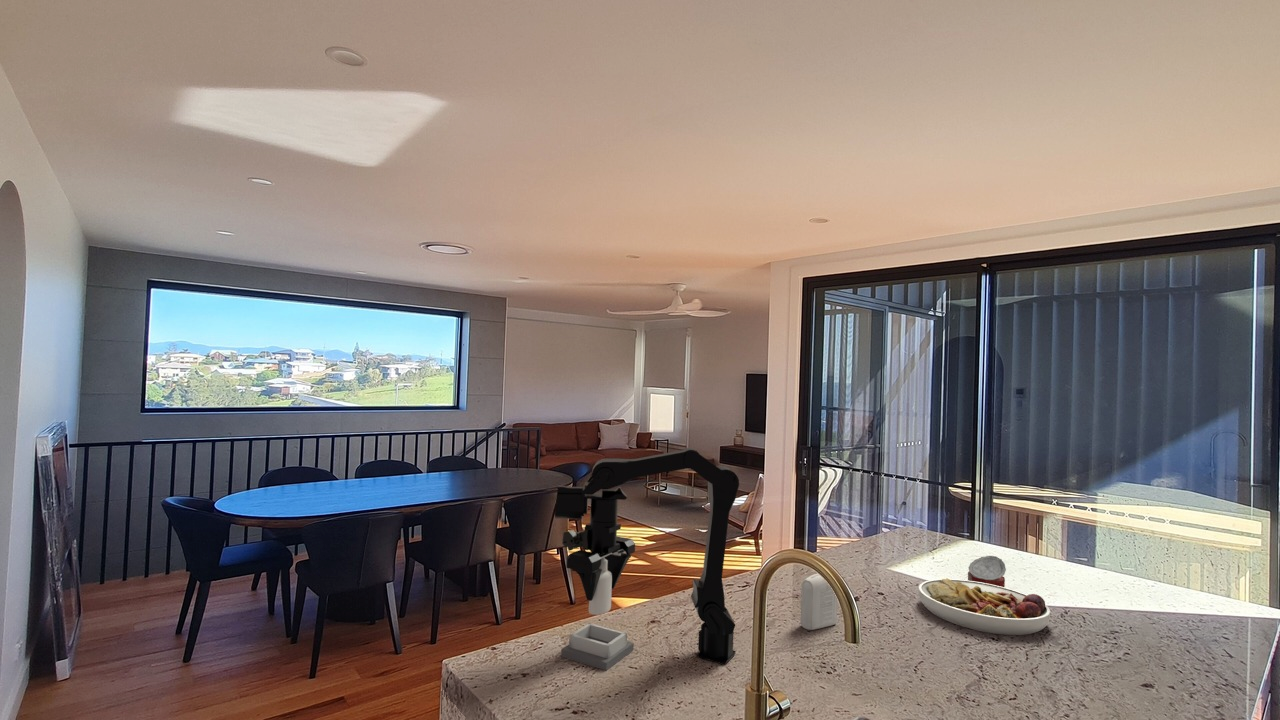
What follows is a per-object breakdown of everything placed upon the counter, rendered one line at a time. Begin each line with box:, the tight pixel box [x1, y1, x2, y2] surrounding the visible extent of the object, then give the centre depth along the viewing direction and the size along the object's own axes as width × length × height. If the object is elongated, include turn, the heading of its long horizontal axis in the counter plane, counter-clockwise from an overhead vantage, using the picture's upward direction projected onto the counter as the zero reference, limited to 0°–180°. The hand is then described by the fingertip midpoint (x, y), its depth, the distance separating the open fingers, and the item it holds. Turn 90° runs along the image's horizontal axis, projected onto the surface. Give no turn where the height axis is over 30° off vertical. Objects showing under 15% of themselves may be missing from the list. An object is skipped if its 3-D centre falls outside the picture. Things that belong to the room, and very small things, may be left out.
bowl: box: [918, 578, 1051, 636], centre depth 159 cm, size 30×30×8 cm
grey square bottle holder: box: [560, 622, 635, 671], centre depth 127 cm, size 11×11×4 cm
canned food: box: [967, 555, 1007, 588], centre depth 185 cm, size 11×10×10 cm
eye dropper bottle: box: [588, 558, 613, 616], centre depth 127 cm, size 4×6×12 cm
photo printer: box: [800, 573, 839, 631], centre depth 148 cm, size 10×4×12 cm, turn 123°
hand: (600, 594), depth 127 cm, fingers closed on eye dropper bottle, 8 cm apart
